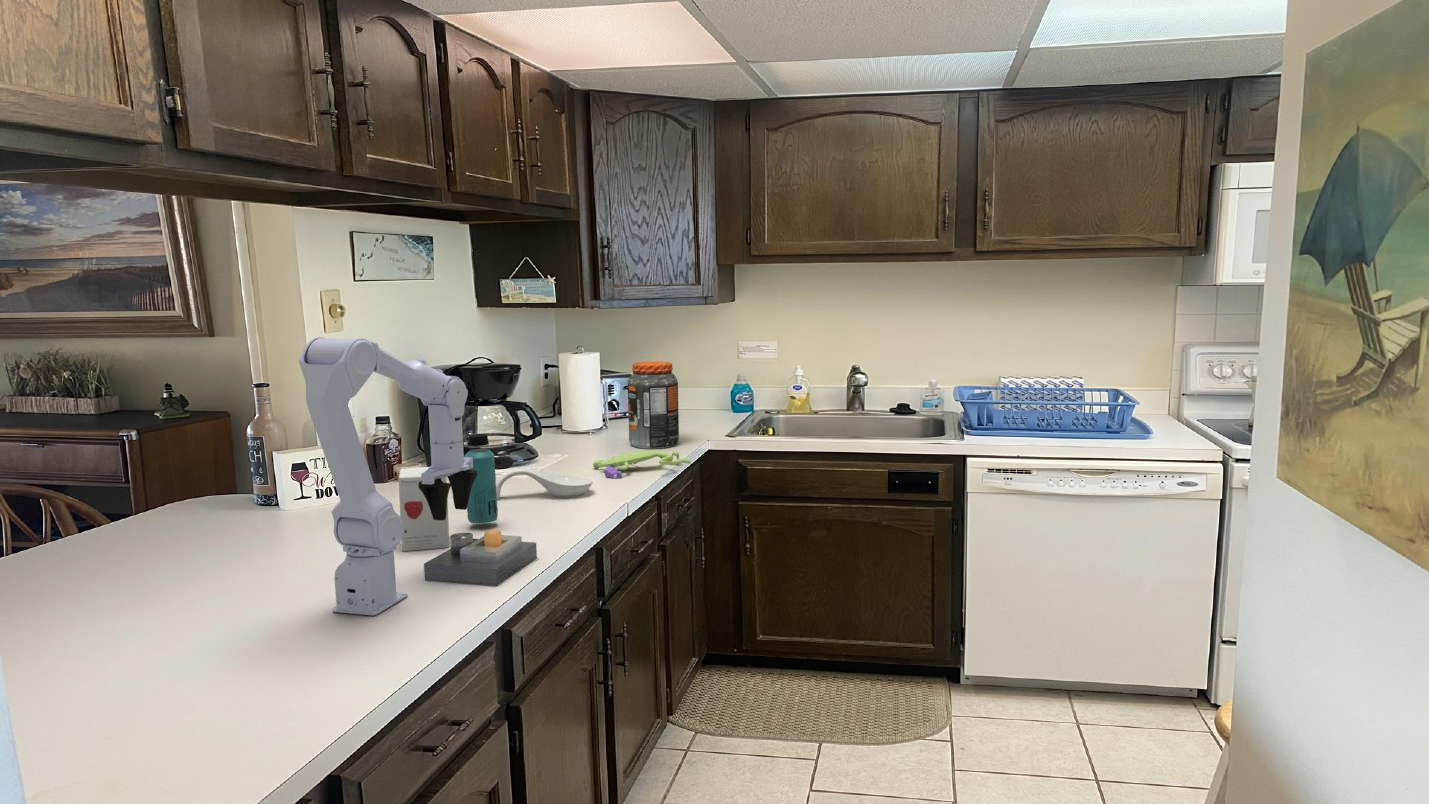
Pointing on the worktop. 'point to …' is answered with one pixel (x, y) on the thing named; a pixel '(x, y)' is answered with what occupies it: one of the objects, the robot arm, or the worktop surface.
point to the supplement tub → (653, 405)
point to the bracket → (490, 550)
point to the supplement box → (419, 515)
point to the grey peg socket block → (476, 564)
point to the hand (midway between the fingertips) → (450, 514)
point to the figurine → (635, 461)
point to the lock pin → (492, 538)
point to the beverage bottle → (482, 483)
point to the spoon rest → (550, 482)
